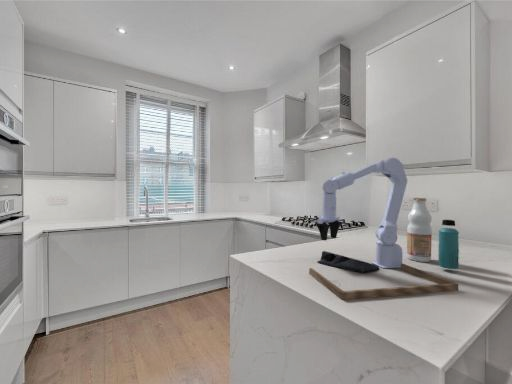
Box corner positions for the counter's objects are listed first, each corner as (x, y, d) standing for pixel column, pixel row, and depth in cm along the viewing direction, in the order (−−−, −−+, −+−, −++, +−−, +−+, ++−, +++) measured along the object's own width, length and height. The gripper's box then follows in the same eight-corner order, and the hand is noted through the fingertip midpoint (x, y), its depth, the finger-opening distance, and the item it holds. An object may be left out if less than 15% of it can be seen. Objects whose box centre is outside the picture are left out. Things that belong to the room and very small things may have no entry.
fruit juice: (401, 257, 120) (402, 197, 119) (417, 256, 122) (418, 197, 122) (419, 263, 110) (420, 198, 110) (436, 261, 113) (437, 198, 113)
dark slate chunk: (361, 277, 92) (361, 264, 92) (313, 263, 110) (314, 252, 110) (382, 269, 101) (382, 257, 101) (335, 257, 119) (335, 247, 119)
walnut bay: (403, 268, 102) (403, 263, 102) (458, 290, 80) (458, 284, 80) (309, 273, 94) (309, 268, 94) (341, 299, 72) (342, 292, 72)
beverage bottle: (459, 274, 96) (461, 221, 96) (438, 271, 99) (439, 219, 99) (457, 270, 101) (458, 219, 101) (436, 267, 105) (438, 218, 105)
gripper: (330, 206, 119) (329, 235, 119) (311, 207, 109) (311, 239, 109) (344, 207, 114) (343, 238, 114) (326, 208, 104) (325, 242, 104)
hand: (328, 238), depth 111 cm, fingers open, 7 cm apart
